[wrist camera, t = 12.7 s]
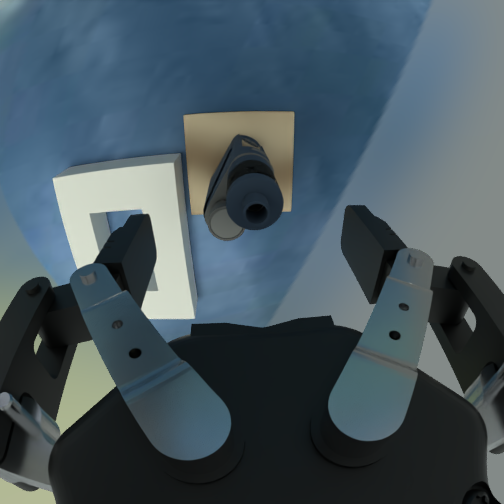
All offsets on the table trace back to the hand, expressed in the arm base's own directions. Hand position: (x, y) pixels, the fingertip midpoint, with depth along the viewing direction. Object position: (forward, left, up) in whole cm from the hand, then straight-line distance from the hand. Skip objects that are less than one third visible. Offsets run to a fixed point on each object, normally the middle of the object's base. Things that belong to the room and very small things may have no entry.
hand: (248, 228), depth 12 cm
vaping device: (0, 0, -12) cm, 12 cm away
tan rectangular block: (0, 0, -12) cm, 12 cm away
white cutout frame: (+6, -10, -12) cm, 17 cm away
